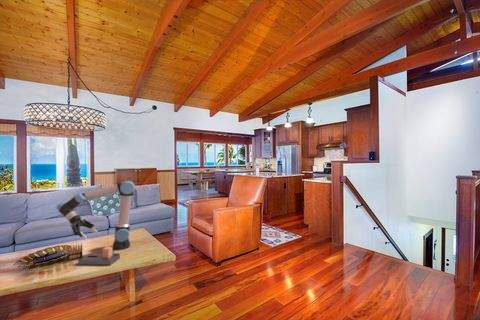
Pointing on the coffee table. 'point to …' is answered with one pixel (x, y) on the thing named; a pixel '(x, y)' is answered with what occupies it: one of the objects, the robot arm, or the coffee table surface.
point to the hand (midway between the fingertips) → (91, 236)
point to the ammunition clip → (74, 253)
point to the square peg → (107, 252)
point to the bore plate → (98, 259)
